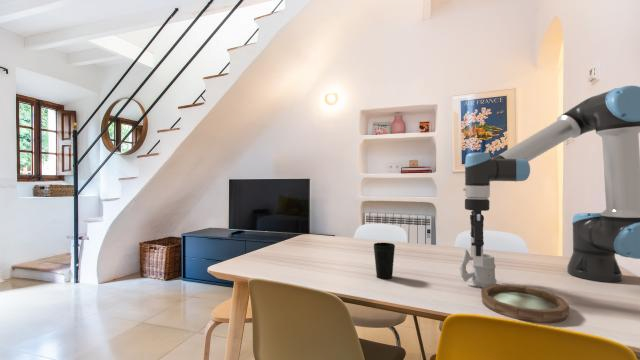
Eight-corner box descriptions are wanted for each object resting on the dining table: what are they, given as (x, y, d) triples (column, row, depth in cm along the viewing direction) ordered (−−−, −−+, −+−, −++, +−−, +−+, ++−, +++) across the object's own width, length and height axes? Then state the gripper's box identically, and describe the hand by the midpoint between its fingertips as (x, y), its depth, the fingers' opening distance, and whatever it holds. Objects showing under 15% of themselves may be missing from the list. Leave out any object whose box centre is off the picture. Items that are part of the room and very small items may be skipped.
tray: (554, 299, 94) (554, 289, 94) (579, 328, 75) (579, 316, 75) (479, 290, 101) (479, 281, 101) (485, 315, 83) (485, 304, 83)
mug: (501, 288, 103) (501, 251, 103) (465, 288, 103) (465, 252, 103) (488, 280, 111) (488, 246, 111) (455, 281, 111) (455, 247, 111)
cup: (397, 275, 118) (396, 243, 118) (392, 281, 111) (392, 247, 111) (376, 273, 121) (376, 241, 121) (371, 278, 114) (371, 245, 114)
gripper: (463, 196, 120) (462, 252, 120) (466, 200, 97) (465, 269, 97) (485, 196, 117) (485, 254, 117) (494, 200, 94) (493, 272, 94)
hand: (476, 261), depth 107 cm, fingers open, 13 cm apart
